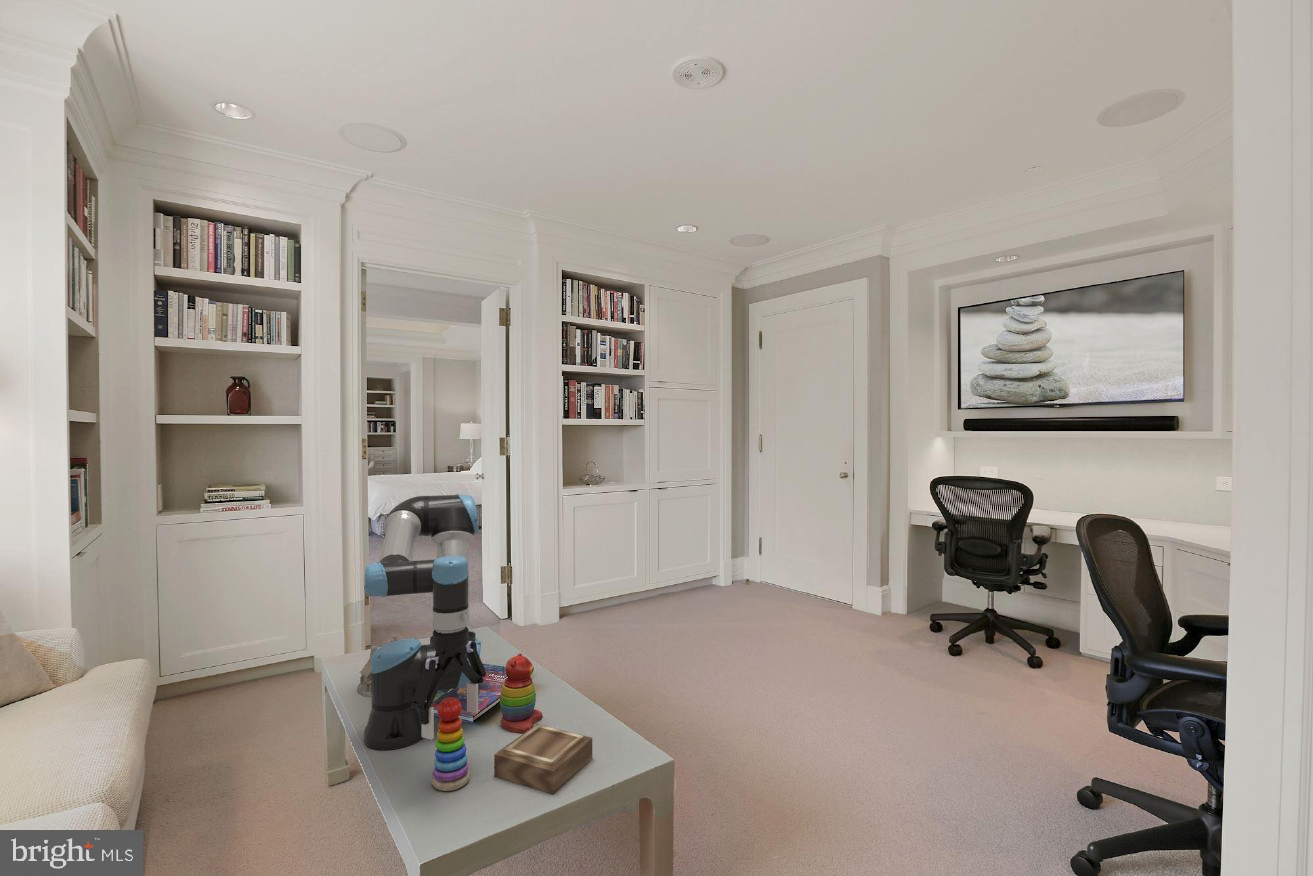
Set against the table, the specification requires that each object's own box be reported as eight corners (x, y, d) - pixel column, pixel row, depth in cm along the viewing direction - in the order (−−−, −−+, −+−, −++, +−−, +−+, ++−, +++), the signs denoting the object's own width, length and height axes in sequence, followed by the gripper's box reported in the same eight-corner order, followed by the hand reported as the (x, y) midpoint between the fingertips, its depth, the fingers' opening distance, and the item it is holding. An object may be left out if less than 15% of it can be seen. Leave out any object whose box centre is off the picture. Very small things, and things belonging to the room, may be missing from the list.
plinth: (494, 776, 140) (494, 750, 140) (537, 743, 155) (537, 720, 155) (553, 794, 133) (553, 767, 133) (592, 758, 148) (592, 734, 148)
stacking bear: (528, 734, 159) (528, 665, 159) (492, 730, 161) (492, 662, 161) (544, 715, 170) (544, 650, 170) (510, 712, 172) (510, 648, 172)
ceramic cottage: (354, 686, 189) (356, 637, 188) (411, 676, 198) (413, 630, 197) (363, 708, 176) (365, 656, 175) (423, 696, 185) (426, 647, 184)
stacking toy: (474, 772, 142) (473, 690, 142) (464, 792, 134) (464, 706, 134) (439, 772, 142) (438, 691, 141) (427, 793, 134) (426, 706, 133)
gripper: (419, 648, 124) (419, 753, 124) (501, 615, 147) (501, 705, 147) (392, 642, 128) (392, 746, 128) (476, 611, 150) (477, 699, 150)
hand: (451, 724), depth 137 cm, fingers open, 13 cm apart
